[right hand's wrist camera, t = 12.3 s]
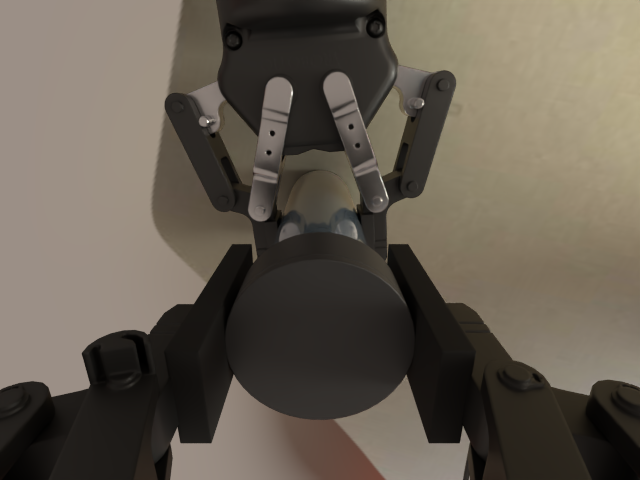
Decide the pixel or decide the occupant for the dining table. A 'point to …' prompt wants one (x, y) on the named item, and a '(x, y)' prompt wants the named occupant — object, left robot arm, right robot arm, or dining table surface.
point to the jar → (320, 208)
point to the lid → (320, 328)
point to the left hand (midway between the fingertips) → (324, 272)
